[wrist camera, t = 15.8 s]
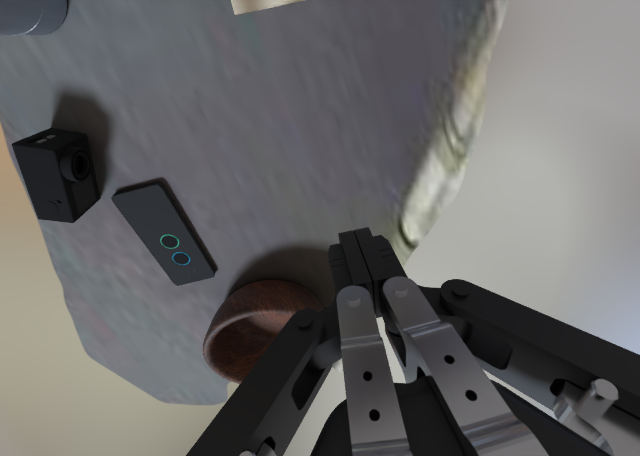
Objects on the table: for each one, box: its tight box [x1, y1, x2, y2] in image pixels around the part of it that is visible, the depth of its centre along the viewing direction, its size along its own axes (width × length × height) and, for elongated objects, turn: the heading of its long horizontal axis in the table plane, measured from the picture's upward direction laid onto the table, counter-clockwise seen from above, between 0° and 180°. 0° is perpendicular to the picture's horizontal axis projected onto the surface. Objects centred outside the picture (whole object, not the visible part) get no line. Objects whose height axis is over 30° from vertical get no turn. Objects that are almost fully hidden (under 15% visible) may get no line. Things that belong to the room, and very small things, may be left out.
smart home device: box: [112, 182, 215, 286], centre depth 50 cm, size 8×2×20 cm
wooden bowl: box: [203, 280, 324, 384], centre depth 59 cm, size 25×25×10 cm
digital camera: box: [12, 128, 100, 223], centre depth 39 cm, size 10×5×7 cm, turn 167°
